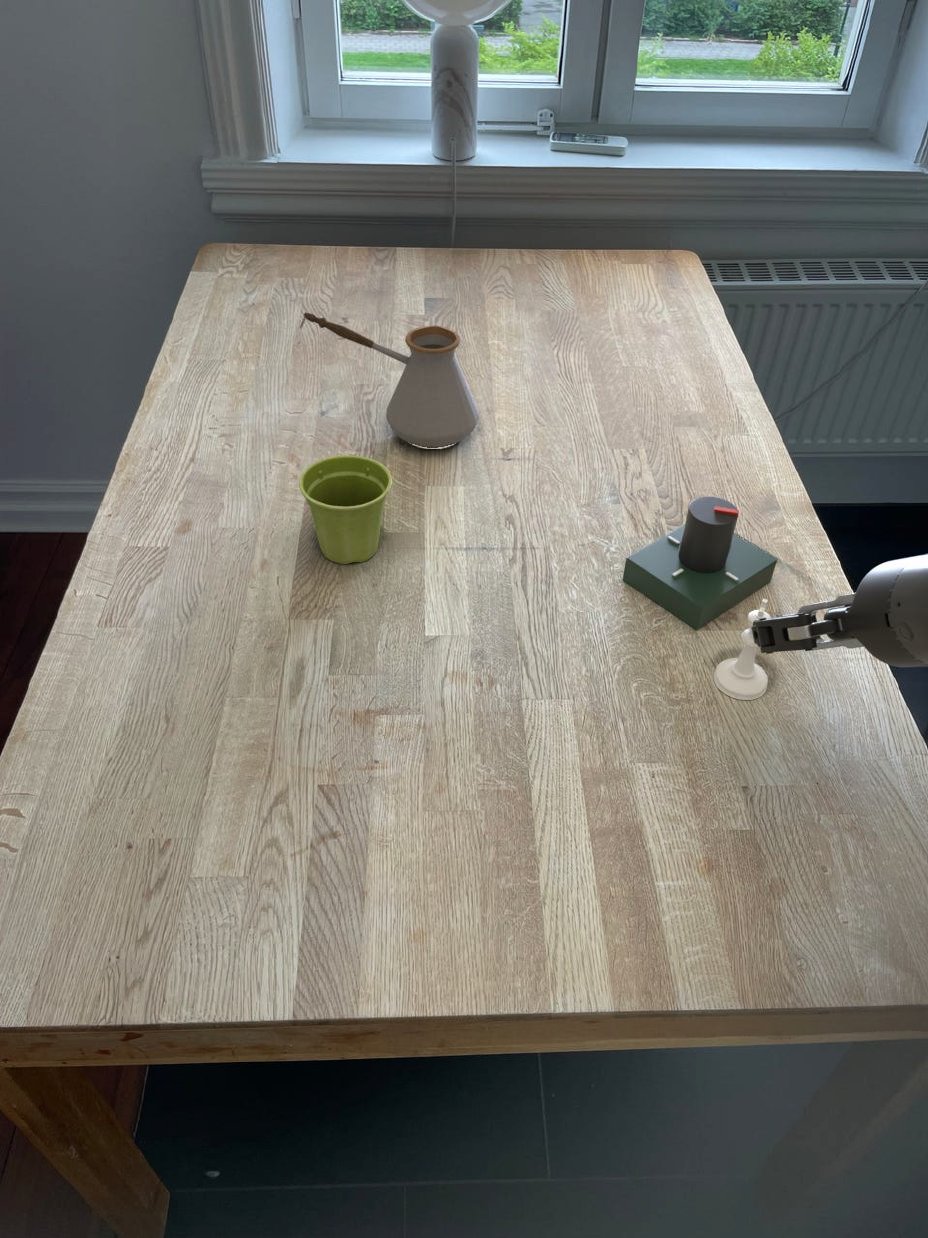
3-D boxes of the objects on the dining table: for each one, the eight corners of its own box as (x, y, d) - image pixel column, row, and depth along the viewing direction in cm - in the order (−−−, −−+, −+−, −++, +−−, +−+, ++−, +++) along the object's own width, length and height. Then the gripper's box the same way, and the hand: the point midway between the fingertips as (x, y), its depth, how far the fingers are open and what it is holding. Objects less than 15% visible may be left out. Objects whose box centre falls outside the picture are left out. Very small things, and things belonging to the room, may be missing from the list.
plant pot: (410, 538, 106) (409, 470, 100) (363, 586, 99) (359, 517, 94) (338, 512, 109) (333, 445, 103) (288, 558, 103) (280, 489, 97)
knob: (676, 568, 98) (688, 518, 94) (680, 540, 101) (691, 490, 97) (725, 576, 97) (738, 525, 93) (726, 547, 101) (739, 497, 97)
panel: (696, 536, 107) (701, 513, 105) (770, 582, 102) (778, 558, 99) (622, 579, 101) (626, 556, 99) (696, 630, 96) (703, 606, 94)
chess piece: (771, 672, 92) (799, 592, 85) (760, 707, 88) (788, 626, 82) (720, 656, 93) (743, 576, 86) (707, 689, 90) (730, 609, 83)
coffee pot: (482, 413, 125) (486, 302, 115) (474, 462, 117) (478, 346, 107) (319, 402, 127) (309, 290, 117) (299, 449, 118) (287, 333, 108)
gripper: (1020, 535, 65) (869, 564, 81) (837, 571, 62) (717, 594, 78) (1043, 644, 65) (887, 652, 81) (861, 686, 62) (735, 686, 78)
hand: (804, 623), depth 80 cm, fingers open, 8 cm apart
